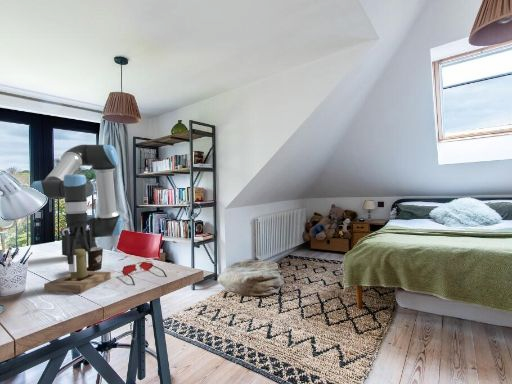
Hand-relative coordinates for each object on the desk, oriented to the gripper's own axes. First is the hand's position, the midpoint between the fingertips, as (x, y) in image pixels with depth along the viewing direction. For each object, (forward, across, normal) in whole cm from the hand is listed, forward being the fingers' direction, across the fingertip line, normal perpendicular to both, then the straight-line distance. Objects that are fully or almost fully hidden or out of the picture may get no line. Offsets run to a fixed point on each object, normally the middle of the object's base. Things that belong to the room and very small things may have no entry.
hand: (78, 269), depth 110 cm
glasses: (+7, -12, +21) cm, 25 cm away
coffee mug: (+6, -18, -11) cm, 22 cm away
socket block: (+6, 0, 0) cm, 6 cm away
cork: (+3, 0, 0) cm, 3 cm away
